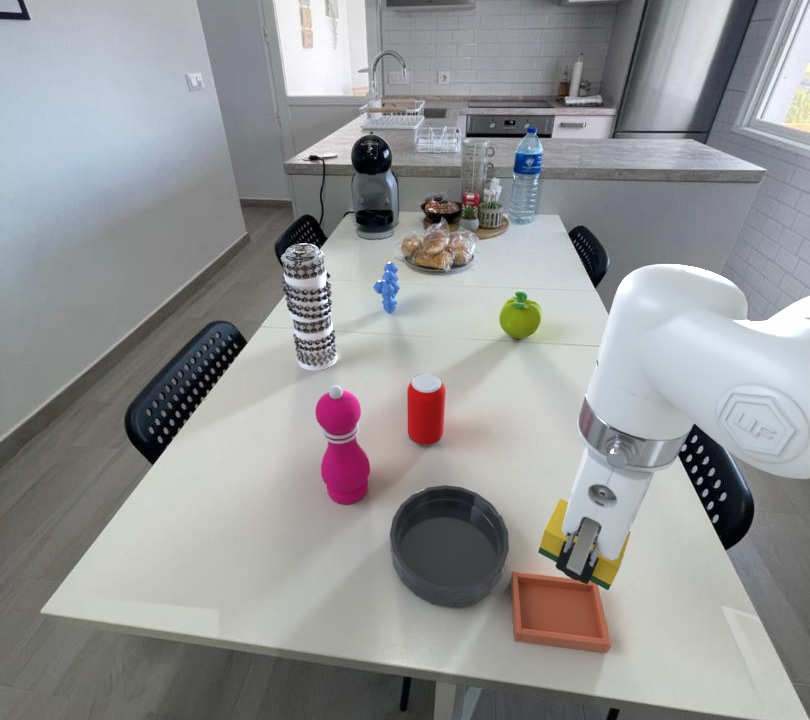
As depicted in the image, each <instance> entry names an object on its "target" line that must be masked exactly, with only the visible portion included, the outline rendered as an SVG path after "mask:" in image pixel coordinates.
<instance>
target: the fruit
mask: <svg viewBox="0 0 810 720" xmlns="http://www.w3.org/2000/svg"><path fill="white" fill-rule="evenodd" d="M514 295H515V296H512V297H510V298H509V299H507V300H506V301H505V302H504V303H503V305H502V307H501V309H500V311H499V316H498V318H499V320H498V321H499V325H500V327H501V329H502V331H504V332H505V333H506V334H507V335H508V336H509V337H511V338H514V339H518V340H521V339H524V338H528V337H530V336H532V335H533V334H534V333H535V332H536V331H537V330H538V328H539V327H540V325H541V324H542V319H543V309H542V306H541V305H540V303H539V302H538V301H536V300H532V299H529V298H528V294H527V293H526V292H524V291H522V290H517V291H515V292H514Z"/></svg>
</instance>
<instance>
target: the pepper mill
mask: <svg viewBox="0 0 810 720" xmlns="http://www.w3.org/2000/svg"><path fill="white" fill-rule="evenodd" d="M361 415H362V407H361V403H360V401H359V399H358V398H357V396H355V394H354V393H352V392H350V391H348V390H344V389H343V388H342V387H341V386H340V385H337V384H336V385H332V386H331V387H330V388H329V390H328V391H327V392H326V393H324V394H323V395H322V396H320V398H319V399H318V401H317V403H316V406H315V418H316V422H317V423H318V425H319V426H320V428H321V433H322V436H323V438H324V440H326V441H327V447H326V449H325V451H324V452H325V453H324V454H323V457H322V460H321V464H320V476H321V478H322V481H323V483H324V484H325V486H326V490H327V494H328V496H329V498H330V499H331V500H332V502H335V503H337V504H340V505H351V504H355V503H357V502H359V501H361V500H362V499H363V498H364V497H365V496H366V494H367V493H368V491H369V476H370V473H371V465H370V464H371V463H370V460H369V457H368V456H367V454H366V451H364V449H363V448H362V447H361V446H360V444H359V442H358V441H357V436H358V434H359V432H360V427H359V425H360V424H359V421H360V419H361Z"/></svg>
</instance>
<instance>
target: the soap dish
mask: <svg viewBox="0 0 810 720" xmlns="http://www.w3.org/2000/svg"><path fill="white" fill-rule="evenodd" d="M509 583H510V596H511V597H510V598H511V600H510V601H511V615H512V627H513V628H512V631H513V641H514V642H519V643H527V644H534V645H541V646H542V645H543V646H550V647H557V648H564V649H572V650H579V651H587V652H593V653H603V654H607V653H608V651H610V648H611V647H612V642H611V639H610V634H609V633H610V632H609V629H608V624H607V620H606V616H605V611H604V608H603V602H602V599H601V593H600V589H599V585H597V584H595V583H593V582H591V581H589V583H588V584H584V583H582V582H580V581H579V580H574V579H572V578H570V577H562V576H553V575H552V576H551V575H546V574H536V573H528V572H519V571H511V575H510V580H509Z"/></svg>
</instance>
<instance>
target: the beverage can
mask: <svg viewBox="0 0 810 720" xmlns="http://www.w3.org/2000/svg"><path fill="white" fill-rule="evenodd" d="M406 391H407V393H406V395H407V396H406V397H407V399H406V400H407V408H406V409H407V434H408V435H407V436H408V437H409V439H410V440H411V442H413V443H414V444H416V445H419V446H423V447H429V446H433V445H436V444H437V443H438V442H440V441H441V439H442V437H443V436H444V423H445V410H446V409H445V408H446V393H447V392H446V387H445V384H444V382H443V381H442V380H441V378H440V377H439V376H437V375H435V374H432V373H421V374H420V373H419V374H417V375H415V376H414V377H413V378H412V379H411V380H410V382H409V383H408V386H407V389H406Z"/></svg>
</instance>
